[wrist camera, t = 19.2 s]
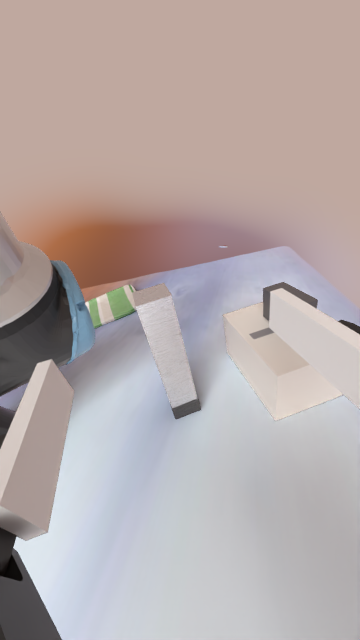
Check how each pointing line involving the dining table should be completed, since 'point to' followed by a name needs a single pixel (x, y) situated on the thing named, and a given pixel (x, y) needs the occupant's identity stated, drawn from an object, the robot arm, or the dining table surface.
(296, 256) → the dining table surface
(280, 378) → the bevelled white plinth
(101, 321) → the dish towel
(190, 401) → the white tall square post
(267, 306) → the knob
